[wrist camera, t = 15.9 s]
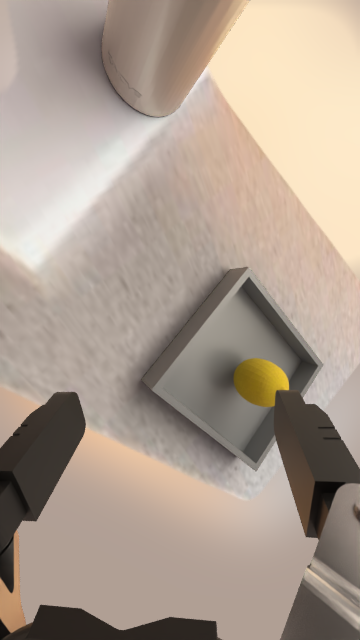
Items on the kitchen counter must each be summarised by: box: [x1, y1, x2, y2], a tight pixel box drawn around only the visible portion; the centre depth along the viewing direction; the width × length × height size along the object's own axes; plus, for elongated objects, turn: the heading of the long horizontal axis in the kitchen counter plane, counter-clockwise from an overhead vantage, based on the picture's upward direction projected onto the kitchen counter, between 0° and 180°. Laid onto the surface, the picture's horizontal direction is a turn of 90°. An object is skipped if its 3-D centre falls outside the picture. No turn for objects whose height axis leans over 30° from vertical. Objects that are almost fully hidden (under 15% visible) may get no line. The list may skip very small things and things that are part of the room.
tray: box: [141, 267, 323, 471], centre depth 34 cm, size 18×20×4 cm
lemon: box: [233, 358, 289, 407], centre depth 31 cm, size 6×6×8 cm
